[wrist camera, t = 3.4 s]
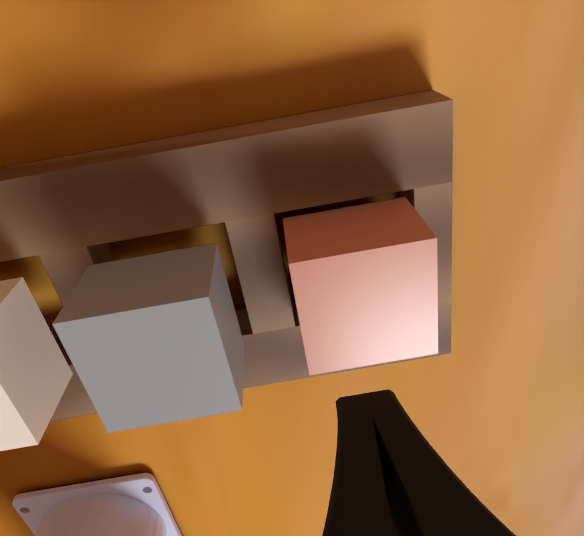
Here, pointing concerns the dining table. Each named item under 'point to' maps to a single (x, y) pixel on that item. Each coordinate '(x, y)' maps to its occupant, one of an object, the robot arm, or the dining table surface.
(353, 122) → the brown flat board
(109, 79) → the dining table surface
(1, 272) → the dining table surface
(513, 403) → the dining table surface
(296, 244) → the brick key
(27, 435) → the ivory key
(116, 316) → the slate key
